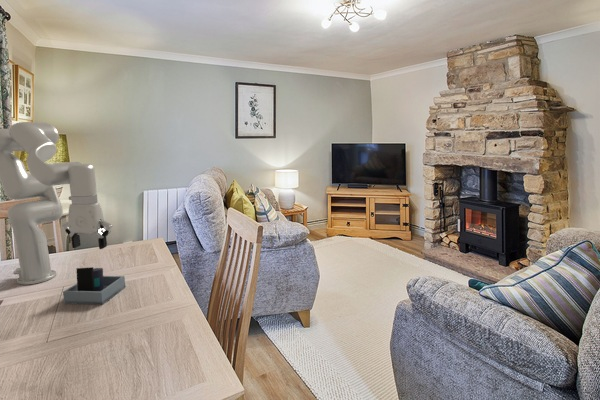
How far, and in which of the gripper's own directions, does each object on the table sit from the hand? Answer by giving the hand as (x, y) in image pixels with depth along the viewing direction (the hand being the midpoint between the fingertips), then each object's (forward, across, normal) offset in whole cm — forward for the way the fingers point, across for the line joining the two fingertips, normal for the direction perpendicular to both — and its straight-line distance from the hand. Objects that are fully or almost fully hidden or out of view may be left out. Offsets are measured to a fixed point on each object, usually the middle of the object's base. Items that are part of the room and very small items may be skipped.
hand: (89, 247), depth 117 cm
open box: (+18, +1, 0) cm, 18 cm away
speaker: (+17, 0, 0) cm, 17 cm away
